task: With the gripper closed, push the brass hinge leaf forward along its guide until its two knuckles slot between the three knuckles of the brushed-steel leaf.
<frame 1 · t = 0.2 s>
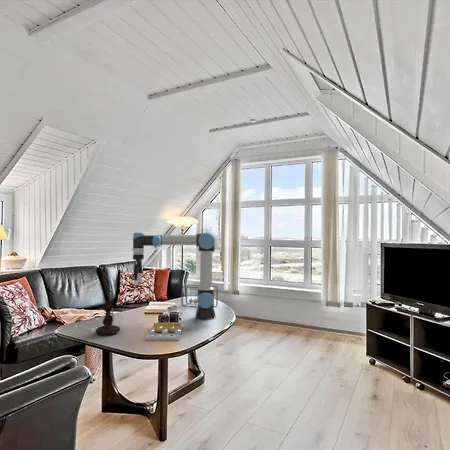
hand: (138, 283, 254), 28 cm above the table, fingers open, 13 cm apart
brass leaf: (166, 327, 231), point 2 cm above the table, slide at 7.0 cm
newton's cradle: (199, 306, 307), on the table
dark wooden figurine: (107, 333, 226), on the table
steel leaf: (164, 335, 221), on the table
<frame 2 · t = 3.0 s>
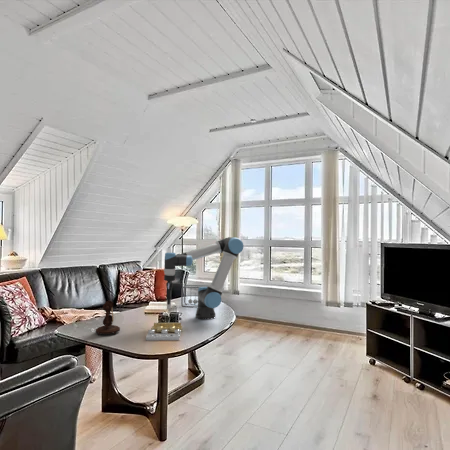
hand: (168, 308, 246), 11 cm above the table, fingers closed
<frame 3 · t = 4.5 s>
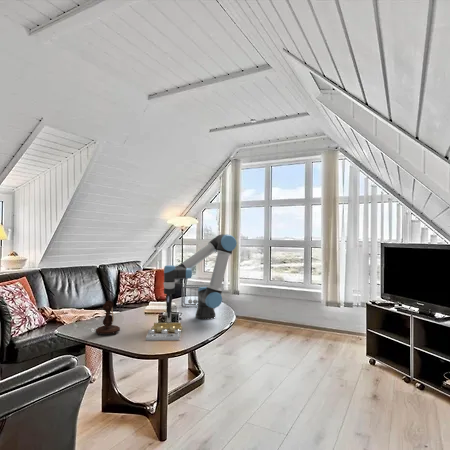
hand: (168, 321, 245), 2 cm above the table, fingers closed
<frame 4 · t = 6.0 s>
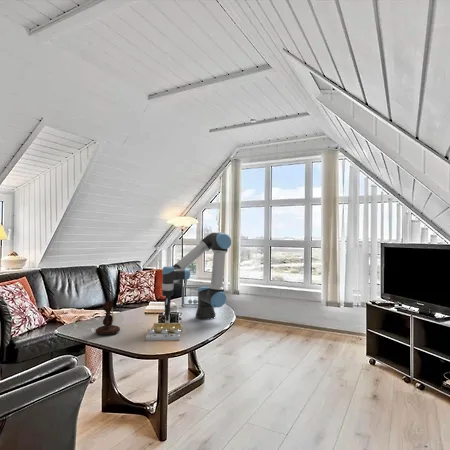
hand: (167, 324, 237), 3 cm above the table, fingers closed
brass leaf: (166, 328, 231), point 2 cm above the table, slide at 6.1 cm, touching gripper
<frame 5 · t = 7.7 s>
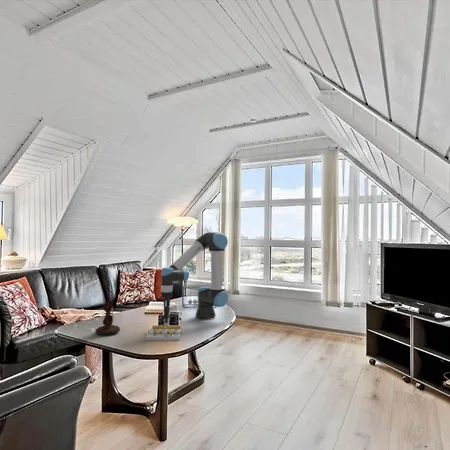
hand: (166, 327, 231), 2 cm above the table, fingers closed
brass leaf: (165, 330, 225), point 2 cm above the table, slide at 0.3 cm, touching gripper
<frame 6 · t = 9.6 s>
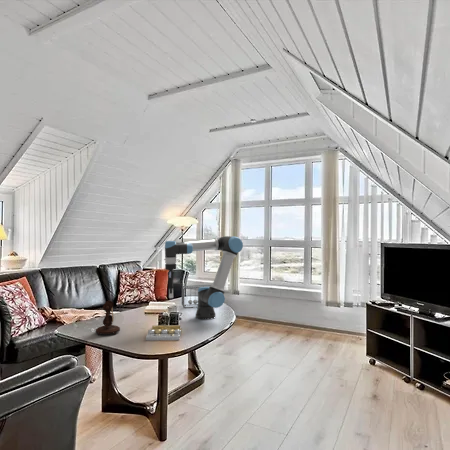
hand: (171, 297, 242), 20 cm above the table, fingers closed
brass leaf: (165, 330, 225), point 2 cm above the table, slide at 0.3 cm
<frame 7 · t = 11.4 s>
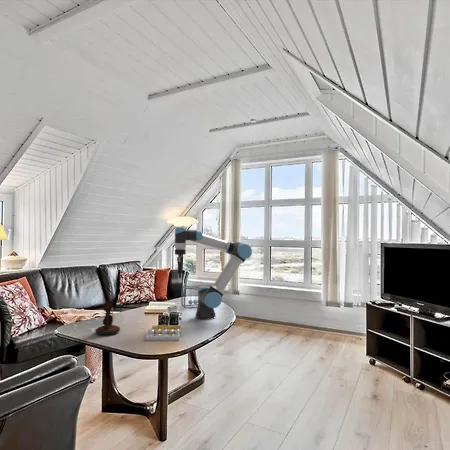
hand: (179, 282, 248), 29 cm above the table, fingers closed
at the end: brass leaf slide at 0.3 cm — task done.
